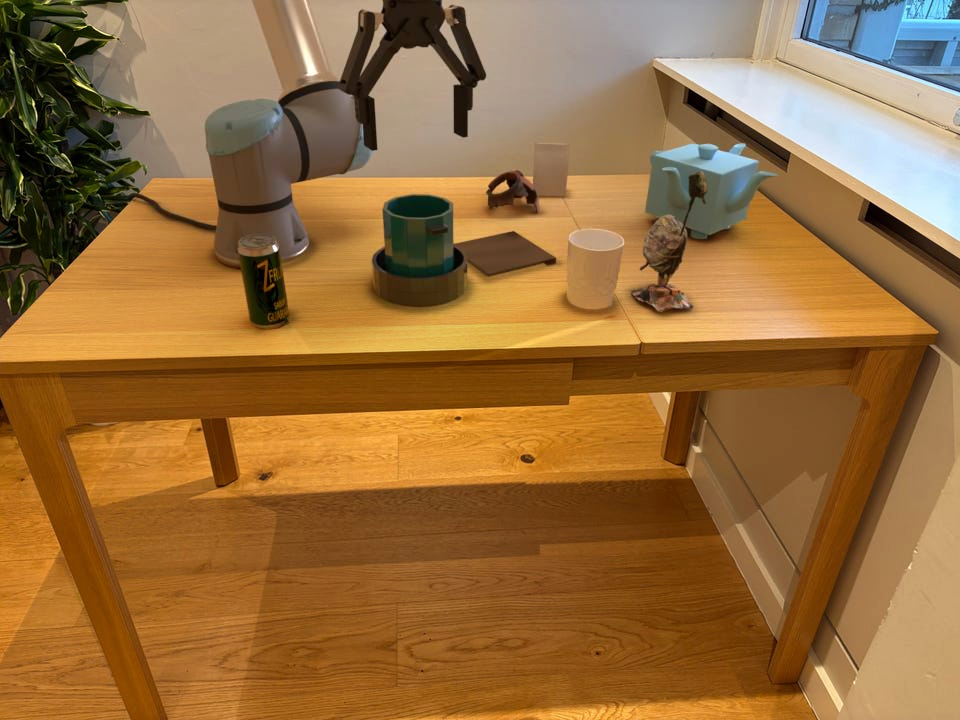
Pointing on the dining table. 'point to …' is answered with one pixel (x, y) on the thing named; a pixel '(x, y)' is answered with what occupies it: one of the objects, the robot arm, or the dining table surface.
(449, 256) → the pot
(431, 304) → the pan
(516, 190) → the brown arched frame
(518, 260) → the trivet
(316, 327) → the dining table surface
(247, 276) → the green soda can
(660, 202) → the teakettle
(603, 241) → the white cup
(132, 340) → the dining table surface
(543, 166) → the white upright block
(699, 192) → the brown figurine
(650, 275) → the dining table surface
